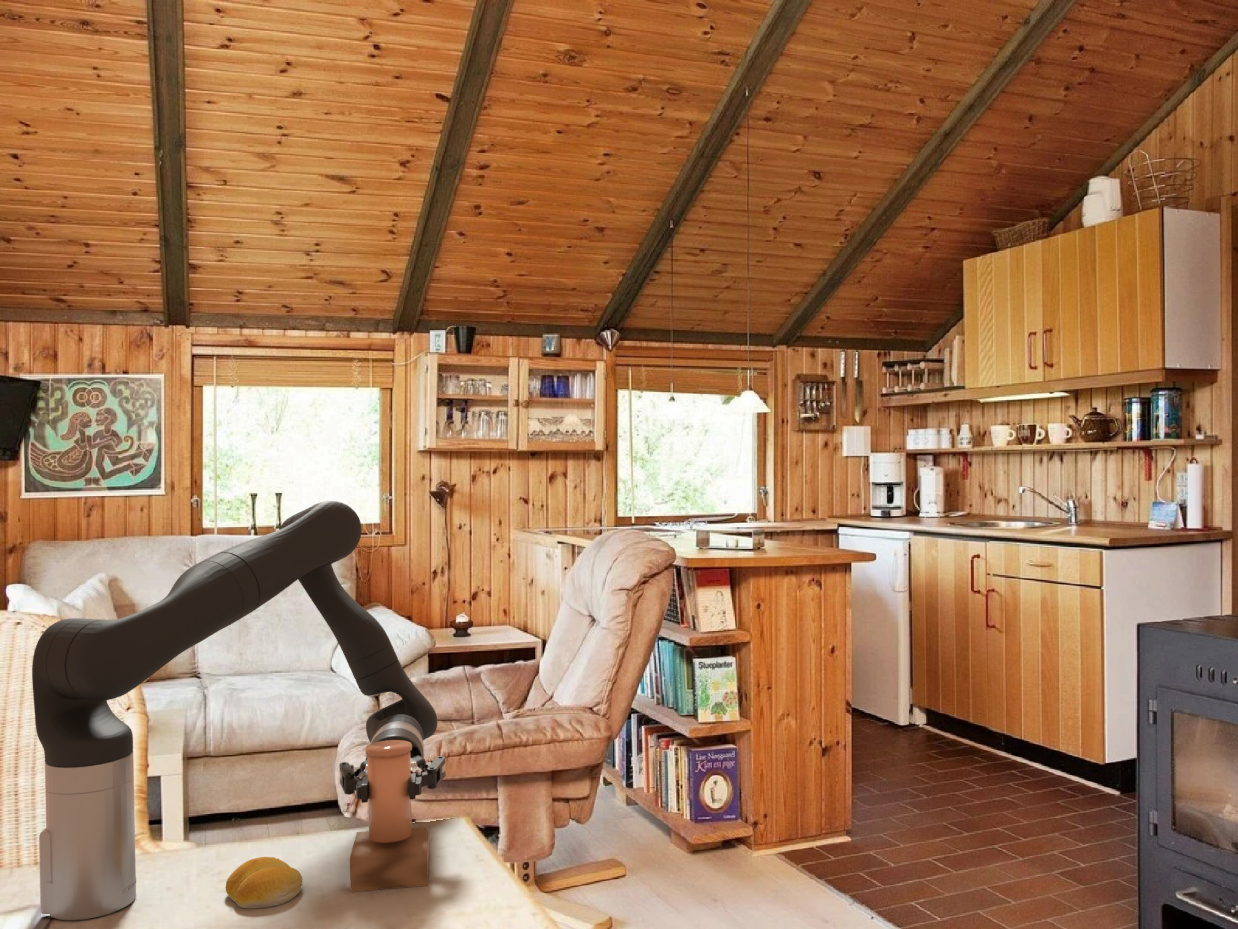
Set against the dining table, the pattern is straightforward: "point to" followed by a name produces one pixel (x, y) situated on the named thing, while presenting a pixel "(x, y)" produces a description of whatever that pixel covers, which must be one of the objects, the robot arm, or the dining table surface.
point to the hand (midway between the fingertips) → (388, 792)
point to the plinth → (389, 862)
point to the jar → (389, 790)
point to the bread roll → (263, 883)
